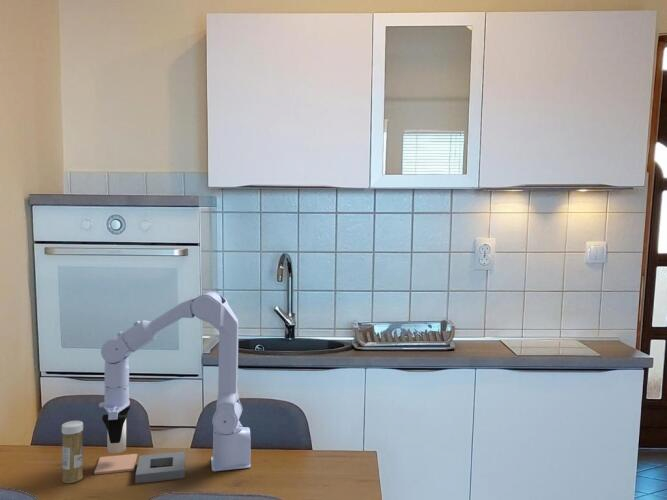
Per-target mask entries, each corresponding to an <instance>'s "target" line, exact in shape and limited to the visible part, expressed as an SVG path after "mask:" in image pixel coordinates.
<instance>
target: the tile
mask: <svg viewBox="0 0 667 500" xmlns="http://www.w3.org/2000/svg"><path fill="white" fill-rule="evenodd" d="M136 459H138V453H131V454H121V455H109V456H108V455H107V456H100V457H99V459H98V462H97V465H96V467H95V470H94V471H93V472H94V476H95V475H103V474H105V475H106V474H113V473H123V472H124V473H125V472H133V471H135V468H136V465H137V460H136Z"/></svg>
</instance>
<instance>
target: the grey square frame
mask: <svg viewBox="0 0 667 500" xmlns="http://www.w3.org/2000/svg"><path fill="white" fill-rule="evenodd" d="M185 461H186V452H185V451H177V452H176V451H175V452H165V453H164V452H163V453H154V454H146V455H145V454H144V455H143V454H142V455H139V458H138V463H137V466H136V471H135V484H141V483H150V482H161V481H169V480H180V479H185V475H186V473H185V466H186V465H185V463H186V462H185ZM171 464H173V465H171ZM160 465H167V466H160ZM153 466H156V467H153Z"/></svg>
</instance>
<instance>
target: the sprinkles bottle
mask: <svg viewBox="0 0 667 500" xmlns="http://www.w3.org/2000/svg"><path fill="white" fill-rule="evenodd" d="M83 431H84V423H83V421H81V420H70V421H67V422H64V423H63V424H61V435H62V436H61V437H62V440H61V441H62V443H61V444H62V445H61V450H62V451H61V456H62V458H61V463H62V464H61V468H62V477H61V480H62V482H63V483H65V484H74V483H77V482H79V481H82V479H83V478H84V474H83V461H84V460H83V459H84V458H83V455H84V453H83V447H84V446H83Z"/></svg>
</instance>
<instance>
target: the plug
mask: <svg viewBox="0 0 667 500" xmlns="http://www.w3.org/2000/svg"><path fill="white" fill-rule="evenodd" d="M106 432H107V433H106V435H107V437H106V438H107V439H106V443H107V445H106V446H107V447H106V452H107V453H108V454H119V453H120V454H121V453H123V452H125V451H126V450H127V419H126V420H125V422H124V424H123V429H122V435H121V440H120V443H111V442H110V439H109V434H108V430H106Z"/></svg>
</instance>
